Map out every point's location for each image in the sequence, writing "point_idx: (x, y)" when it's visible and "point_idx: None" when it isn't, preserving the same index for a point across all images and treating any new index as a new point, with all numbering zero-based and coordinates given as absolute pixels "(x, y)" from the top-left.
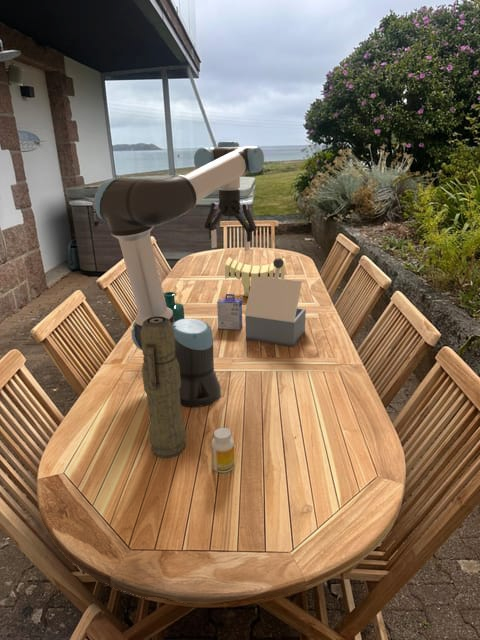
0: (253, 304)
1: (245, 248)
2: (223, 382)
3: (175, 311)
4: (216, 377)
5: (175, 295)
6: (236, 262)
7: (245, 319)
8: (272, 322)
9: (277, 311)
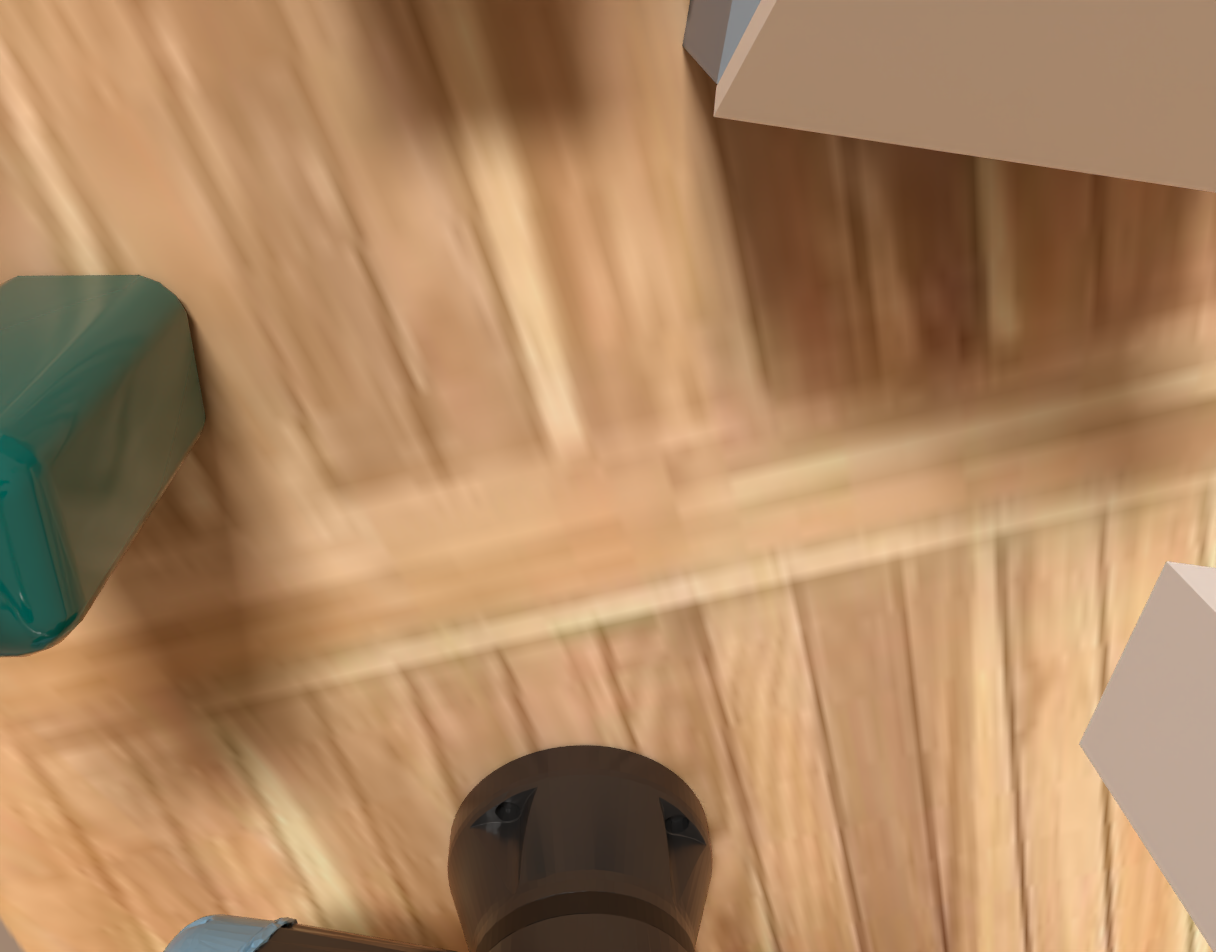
0: (847, 65)
1: (1143, 799)
2: (688, 722)
3: (62, 637)
4: (697, 892)
5: None
6: None
7: (710, 76)
8: None
9: (1151, 138)
